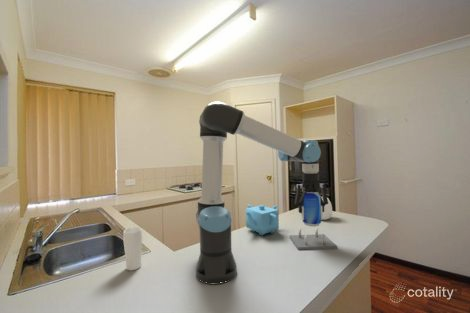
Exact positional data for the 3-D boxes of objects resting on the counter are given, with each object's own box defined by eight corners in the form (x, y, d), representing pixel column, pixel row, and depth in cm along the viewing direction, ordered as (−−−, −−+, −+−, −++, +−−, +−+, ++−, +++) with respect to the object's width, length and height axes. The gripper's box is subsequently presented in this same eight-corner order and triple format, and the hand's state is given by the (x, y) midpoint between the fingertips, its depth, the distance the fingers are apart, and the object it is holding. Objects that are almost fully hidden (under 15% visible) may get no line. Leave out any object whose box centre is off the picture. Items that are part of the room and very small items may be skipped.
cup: (330, 222, 134) (330, 201, 134) (308, 219, 141) (308, 198, 141) (334, 217, 145) (333, 197, 145) (313, 214, 152) (313, 195, 152)
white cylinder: (125, 265, 88) (123, 228, 88) (143, 261, 91) (142, 226, 90) (123, 274, 82) (122, 234, 81) (143, 269, 84) (142, 231, 84)
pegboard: (298, 249, 98) (297, 238, 98) (289, 237, 112) (289, 227, 112) (337, 248, 99) (336, 237, 99) (323, 236, 113) (323, 226, 113)
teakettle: (279, 238, 112) (278, 210, 111) (242, 236, 115) (242, 209, 115) (278, 226, 130) (278, 201, 130) (247, 225, 133) (246, 201, 133)
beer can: (322, 222, 107) (321, 190, 106) (318, 228, 100) (318, 193, 99) (305, 220, 111) (304, 189, 111) (300, 225, 104) (299, 192, 104)
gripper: (291, 173, 101) (292, 222, 101) (335, 172, 102) (336, 220, 102) (286, 172, 108) (287, 217, 109) (328, 171, 109) (329, 215, 110)
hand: (311, 219), depth 105 cm, fingers closed on beer can, 8 cm apart
